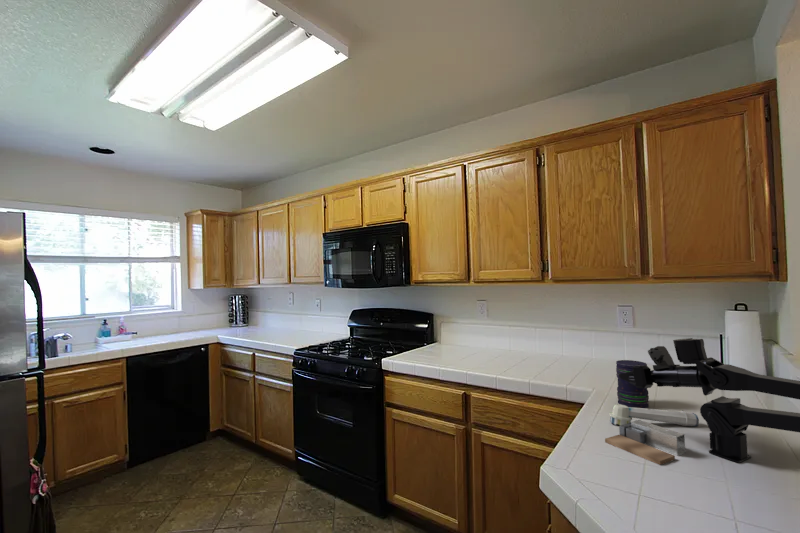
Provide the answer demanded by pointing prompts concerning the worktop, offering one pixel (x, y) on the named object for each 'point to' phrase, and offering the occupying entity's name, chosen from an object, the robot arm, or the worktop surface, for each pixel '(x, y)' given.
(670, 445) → the steel bar
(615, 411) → the toothbrush head
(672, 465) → the worktop surface
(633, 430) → the vise
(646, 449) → the board
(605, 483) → the worktop surface
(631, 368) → the storage jar
